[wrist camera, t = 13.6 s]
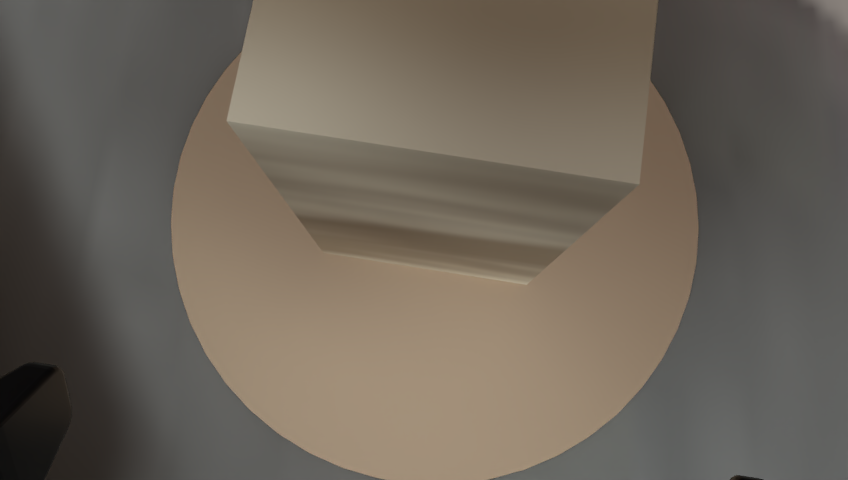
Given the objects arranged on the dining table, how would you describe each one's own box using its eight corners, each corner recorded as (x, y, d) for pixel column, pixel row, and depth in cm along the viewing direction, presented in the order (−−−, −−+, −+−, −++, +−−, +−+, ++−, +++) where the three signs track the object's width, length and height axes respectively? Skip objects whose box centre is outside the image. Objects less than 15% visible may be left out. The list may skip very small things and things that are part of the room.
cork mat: (771, 105, 19) (776, 101, 18) (561, 585, 16) (564, 588, 16) (330, -99, 20) (329, -107, 19) (75, 325, 17) (69, 324, 17)
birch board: (526, 285, 17) (639, 183, 9) (323, 252, 17) (226, 121, 9) (542, 167, 18) (662, -41, 9) (344, 137, 18) (275, -98, 9)
